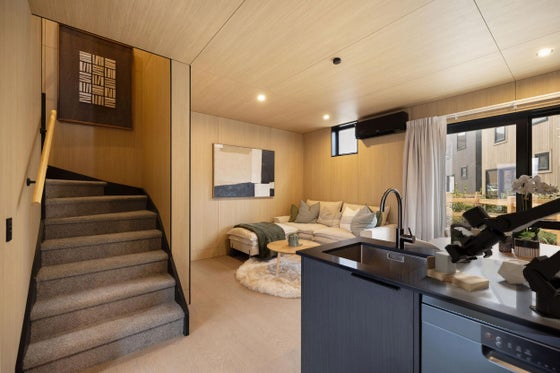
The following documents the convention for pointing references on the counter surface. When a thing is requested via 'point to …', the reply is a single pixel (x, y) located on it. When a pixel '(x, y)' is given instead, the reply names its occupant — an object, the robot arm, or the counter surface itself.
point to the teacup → (519, 262)
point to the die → (512, 272)
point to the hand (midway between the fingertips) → (452, 262)
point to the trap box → (456, 277)
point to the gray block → (444, 262)
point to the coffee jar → (455, 225)
